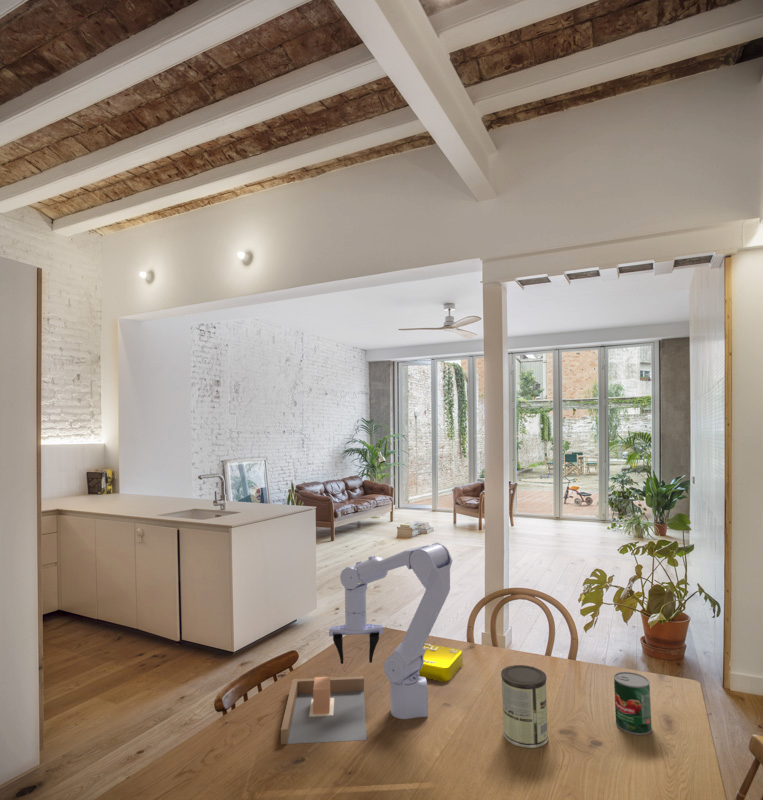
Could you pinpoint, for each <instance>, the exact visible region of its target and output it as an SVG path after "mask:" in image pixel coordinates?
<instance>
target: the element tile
mask: <svg viewBox="0 0 763 800" xmlns="http://www.w3.org/2000/svg"><path fill="white" fill-rule="evenodd" d="M424 648H425V650H426V651H425V654H424V663H423V666H422V668H421V669H420V670H419V676H420V677H426V678H428V679H427V680H431V679H433V680H432V681H436V680H437V682H441V681H442V683H445V682H447V683H448V682H449V681H451V680H452V678H454V676H455V675H456V674H457V672H459V670H460V669H461V668H462V666H463V663H464V662H463V651H462V649H458V648H453V647H447V646H442V645H436V644H429V643H425V644H424Z"/></svg>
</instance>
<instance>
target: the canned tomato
mask: <svg viewBox="0 0 763 800" xmlns="http://www.w3.org/2000/svg"><path fill="white" fill-rule="evenodd" d="M650 682H651V681H650V679H648V677H646V676H644V675H641V674H639V673H636V672H630V671H619V672H616V673H615V674H613V685H614V686H613V687H614V689H613V690H614V706H615V707H614V708H615V711H614V712H615V725H616V727H618V728H619V729H620V730H621V731H623V732H626V733H628V734H631V735H636V736H638V735H639V736H644V735H648V734H650V733H652V730H653V729H652V709H651V707H652V705H651V689H650Z"/></svg>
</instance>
